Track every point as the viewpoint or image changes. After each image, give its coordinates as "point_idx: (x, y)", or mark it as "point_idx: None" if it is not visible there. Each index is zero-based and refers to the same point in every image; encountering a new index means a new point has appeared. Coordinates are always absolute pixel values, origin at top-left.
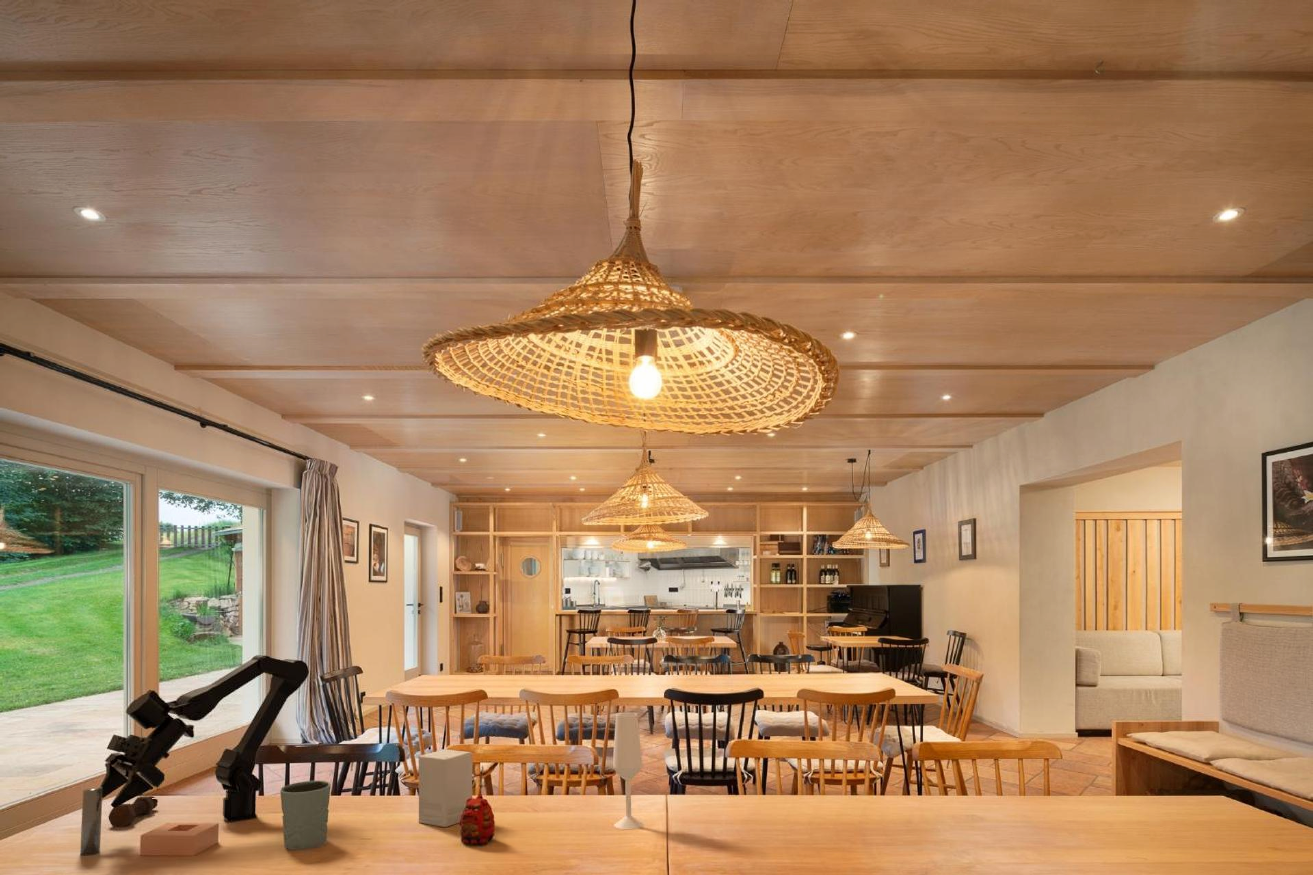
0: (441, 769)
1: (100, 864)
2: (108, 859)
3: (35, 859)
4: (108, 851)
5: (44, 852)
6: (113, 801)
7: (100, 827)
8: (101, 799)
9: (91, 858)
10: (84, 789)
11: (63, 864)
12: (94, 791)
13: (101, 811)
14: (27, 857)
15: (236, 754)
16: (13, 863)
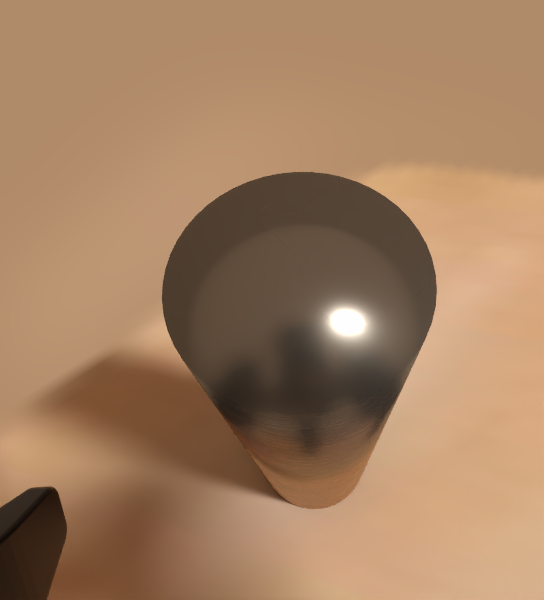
0: None
1: (31, 422)
2: (79, 481)
3: None
4: (244, 540)
5: (512, 290)
6: (12, 509)
7: (271, 479)
8: (235, 426)
9: (183, 423)
10: (372, 198)
11: None
12: (169, 277)
13: (266, 463)
14: (471, 221)
15: None
16: (407, 169)
